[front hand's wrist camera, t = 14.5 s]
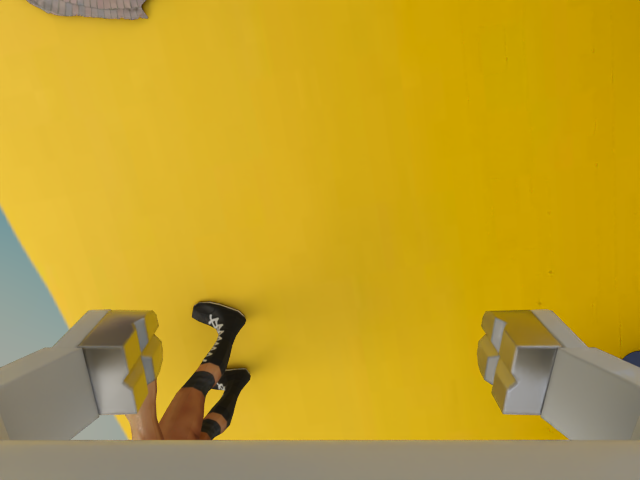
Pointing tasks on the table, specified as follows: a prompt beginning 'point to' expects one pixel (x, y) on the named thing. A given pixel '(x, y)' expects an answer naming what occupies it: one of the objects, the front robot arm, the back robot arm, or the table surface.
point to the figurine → (198, 387)
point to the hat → (93, 8)
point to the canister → (633, 358)
